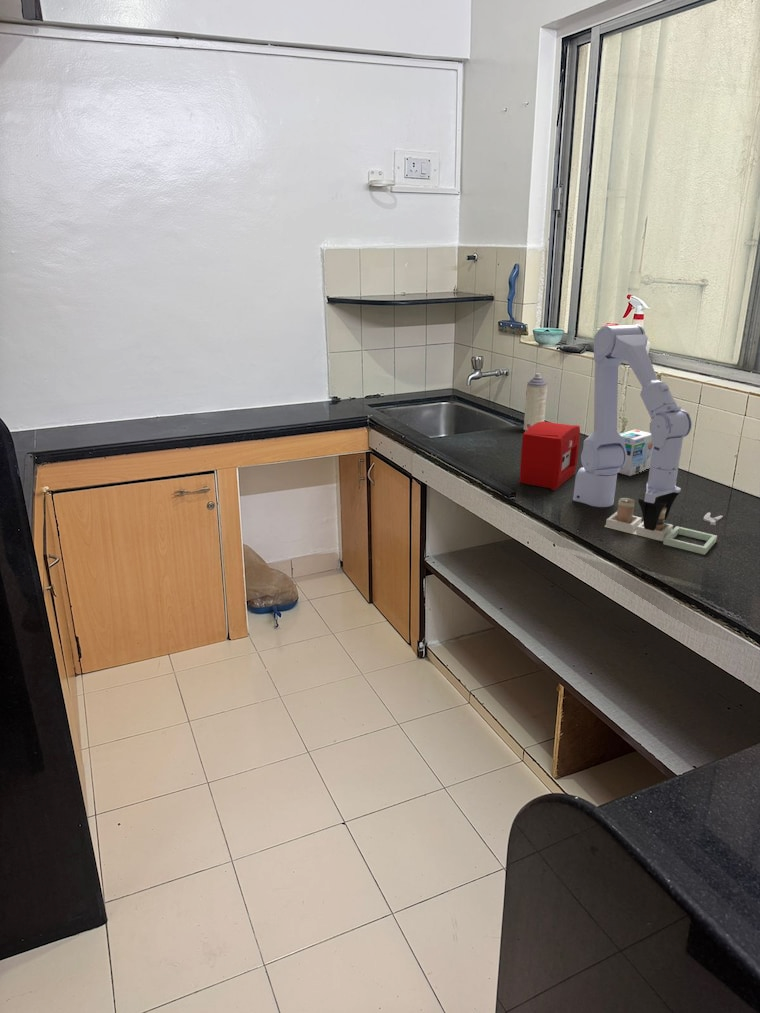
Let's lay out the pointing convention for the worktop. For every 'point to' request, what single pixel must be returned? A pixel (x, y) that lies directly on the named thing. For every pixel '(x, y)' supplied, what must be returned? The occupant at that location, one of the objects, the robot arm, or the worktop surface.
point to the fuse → (625, 510)
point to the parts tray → (704, 549)
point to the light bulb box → (637, 451)
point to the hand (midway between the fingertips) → (655, 524)
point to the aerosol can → (535, 401)
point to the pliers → (711, 519)
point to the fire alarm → (549, 454)
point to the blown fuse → (661, 520)
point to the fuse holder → (638, 527)
